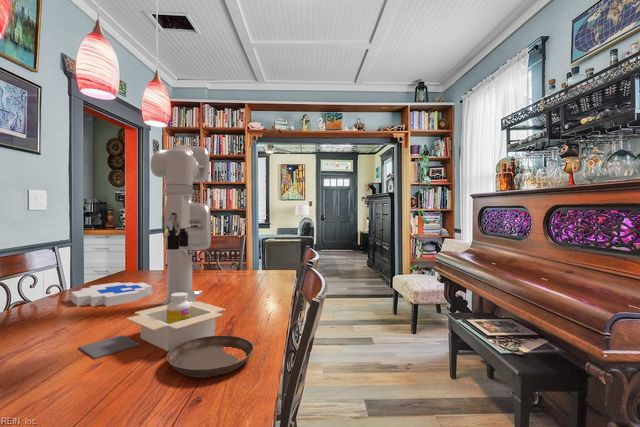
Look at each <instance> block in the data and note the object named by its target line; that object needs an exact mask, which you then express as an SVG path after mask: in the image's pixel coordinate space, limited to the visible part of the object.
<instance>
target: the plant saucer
mask: <svg viewBox="0 0 640 427" xmlns="http://www.w3.org/2000/svg"><path fill="white" fill-rule="evenodd" d="M223 347H232V348H237V349H241V350H243V351H244V352H245V353H246V358H244V359H242V360H240V361H238V358H237V357H236V358H235V356H236V355H235V356H234V355H233V356H232V354H231V355H230V354H226V353H225V352H224V351H223V350H224V349H223ZM222 349H223V350H222ZM254 350H255V346H254V344H253V343H252V342H251V341H250V340H248V339H246V338H244V337H239V336H235V335H213V336H208V337H201V338H197V339H193V340H189V341H186V342H184V343H181V344H179V345H177V346H176V347H174V348H173V349H171V350H170V351H168V353H167V354H166V360H167V362H168V363H169V365H170V366H171V367H172V368H173V369H174V370H175V371H176V372H178V373H180V375H181V374H182V375H184V376H187V377H191V378H212V377H211V376H213V377H218V376H222V375H226V374H228V372H229V373H231V372H233V370H234V371H236V370H237V369H239V368H241V366H243V365H244V364H245V363H246V362H247V361H248V360H249V358H250V357H252V356H251V355H252V354H253V352H254ZM236 361H238V362H236ZM230 371H231V372H230ZM225 373H226V374H225ZM221 374H222V375H221ZM217 375H218V376H217Z"/></svg>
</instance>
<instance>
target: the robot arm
mask: <svg viewBox="0 0 640 427" xmlns="http://www.w3.org/2000/svg"><path fill="white" fill-rule="evenodd" d="M149 165H150V170H151V173H152V174H153V176H156V177H157V178H165V193H164V194H165V197H166V201H165V209H164V222H163V223H164V224H163V225H164V226H163V227H164V228H165V229H166V230H167V231H166V233H165V237H164V238H165V244H166V253H167V255H166V256H167V270H166V272H167V273H166V280H167V281H166V299H165V300H163V301H162V306H164V305H168V304H169V303H170V302H171V294H173V293H180V292H184V293H187V294H188V297H187V301H188V302H190V303H193V302H197V299H196V297H197V296H198V297H199V296H203V291H202V290H198V291H196V290H193V259H192V257H191V255H190V254H189V253H188V252H187V251H195V250H196V251H198V250H199V251H200V250H201V251H202V250H207V249H209V248H210V246H211V242H212V235H211V234H212V228H211V227H212V226H211V222H212V221H211V220H212V218H211V209H210V207H209V205H208V204H206V203H200V202H193V187H194V185H193V183H194V182H196V183H204V182H206V181H207V180H208V177H209V171H210V170H209V169H210V152H209V151H208V150H207V148H205V147H204V146H197V145H186V144H179V145H178V144H177V145H175V146H173V147H172V148H170V149H159V150H156V151H155V152H154V153H153V154H152V156H151V158H150V164H149ZM191 226H192V227H191Z"/></svg>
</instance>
